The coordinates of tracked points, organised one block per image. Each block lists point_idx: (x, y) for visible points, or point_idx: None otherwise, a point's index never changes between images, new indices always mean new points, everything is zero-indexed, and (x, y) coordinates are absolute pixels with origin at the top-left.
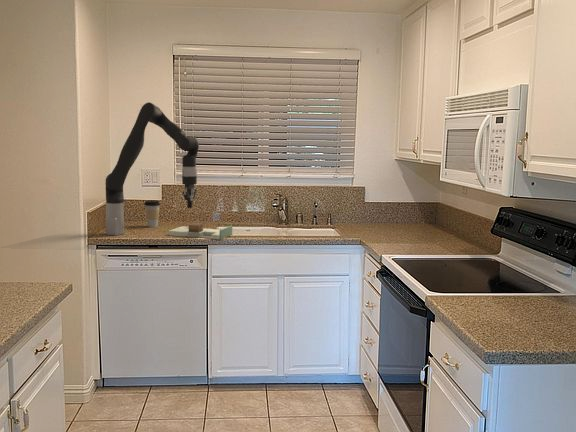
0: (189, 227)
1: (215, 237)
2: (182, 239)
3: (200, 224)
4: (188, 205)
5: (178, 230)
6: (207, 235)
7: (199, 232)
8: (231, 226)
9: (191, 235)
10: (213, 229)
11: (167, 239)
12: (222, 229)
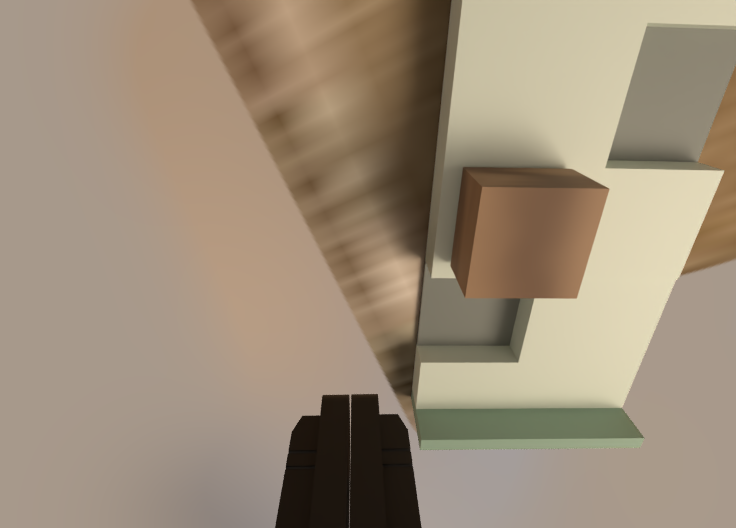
0: (471, 188)
1: (416, 372)
2: (299, 166)
3: (528, 290)
4: (298, 457)
5: (521, 18)
6: None
7: None
8: (621, 445)
9: (434, 195)
10: (661, 296)
11: (231, 27)
12: (453, 446)
